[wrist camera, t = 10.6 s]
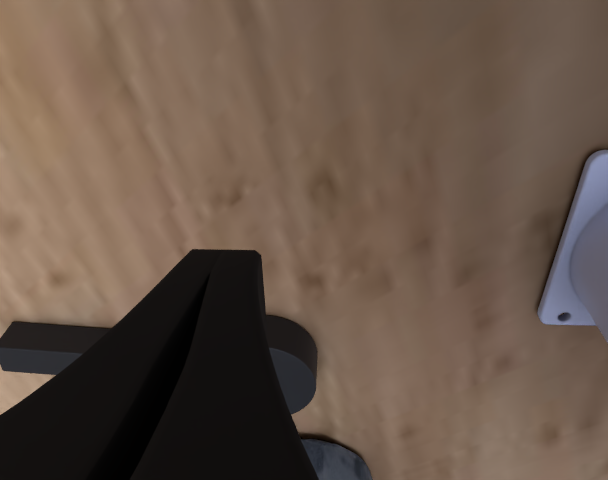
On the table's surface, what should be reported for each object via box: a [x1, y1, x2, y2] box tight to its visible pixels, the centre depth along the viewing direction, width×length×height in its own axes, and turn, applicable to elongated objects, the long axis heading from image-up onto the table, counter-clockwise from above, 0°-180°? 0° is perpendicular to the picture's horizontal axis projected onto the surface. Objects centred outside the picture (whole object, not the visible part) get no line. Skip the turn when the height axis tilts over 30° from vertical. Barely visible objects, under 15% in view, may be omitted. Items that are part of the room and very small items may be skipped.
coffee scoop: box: [0, 315, 317, 414], centre depth 24 cm, size 15×5×2 cm, turn 87°
